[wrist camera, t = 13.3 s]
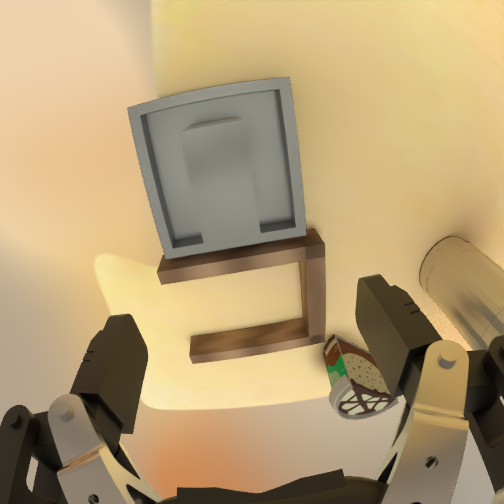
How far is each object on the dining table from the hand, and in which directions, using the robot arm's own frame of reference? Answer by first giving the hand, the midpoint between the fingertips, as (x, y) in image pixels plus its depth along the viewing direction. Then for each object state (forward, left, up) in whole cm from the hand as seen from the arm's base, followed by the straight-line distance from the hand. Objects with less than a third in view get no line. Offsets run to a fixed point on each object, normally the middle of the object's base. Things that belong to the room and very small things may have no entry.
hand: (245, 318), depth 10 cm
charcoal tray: (+1, -1, -21) cm, 20 cm away
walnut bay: (+1, +14, -21) cm, 25 cm away
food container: (-11, +29, -21) cm, 37 cm away
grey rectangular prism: (+1, -1, -20) cm, 20 cm away
